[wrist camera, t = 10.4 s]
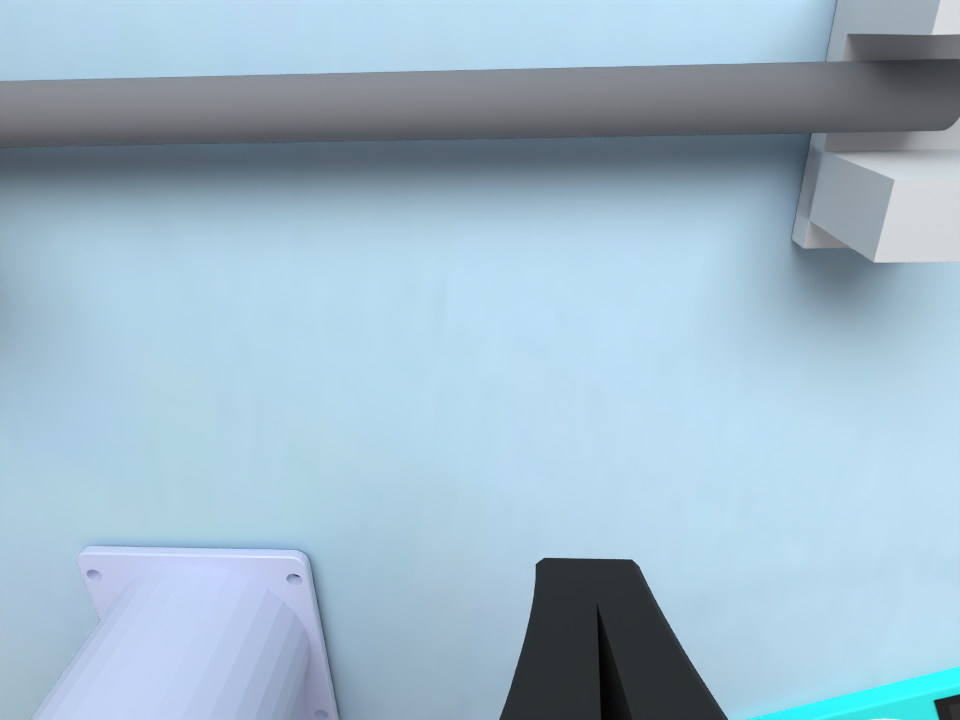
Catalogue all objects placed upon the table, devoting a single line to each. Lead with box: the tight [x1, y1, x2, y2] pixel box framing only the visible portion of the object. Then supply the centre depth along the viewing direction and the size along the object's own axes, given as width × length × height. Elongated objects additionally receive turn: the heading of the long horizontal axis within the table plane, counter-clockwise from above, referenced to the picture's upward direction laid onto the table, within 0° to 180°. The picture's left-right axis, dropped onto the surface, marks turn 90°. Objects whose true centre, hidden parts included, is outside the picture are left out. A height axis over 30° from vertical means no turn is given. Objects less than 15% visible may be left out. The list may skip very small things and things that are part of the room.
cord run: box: [0, 0, 960, 263], centre depth 14 cm, size 36×7×4 cm, turn 91°
